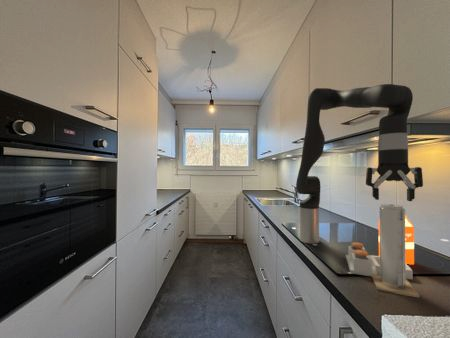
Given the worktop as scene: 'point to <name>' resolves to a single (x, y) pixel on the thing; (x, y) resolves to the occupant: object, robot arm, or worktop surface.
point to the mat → (405, 291)
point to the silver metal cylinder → (392, 245)
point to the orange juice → (406, 241)
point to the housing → (369, 265)
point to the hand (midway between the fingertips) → (392, 200)
